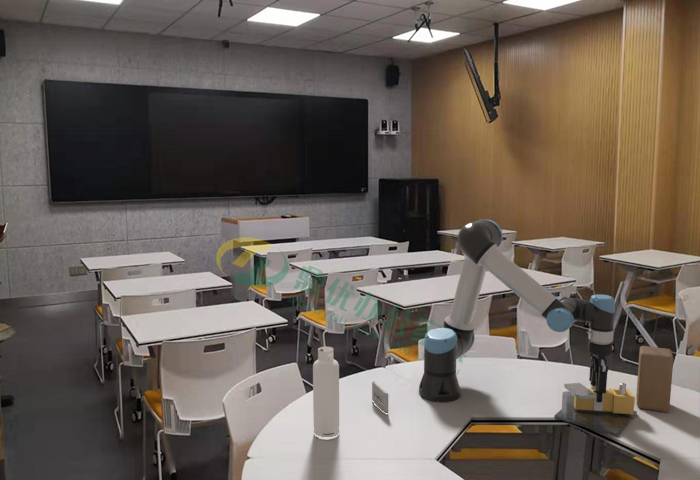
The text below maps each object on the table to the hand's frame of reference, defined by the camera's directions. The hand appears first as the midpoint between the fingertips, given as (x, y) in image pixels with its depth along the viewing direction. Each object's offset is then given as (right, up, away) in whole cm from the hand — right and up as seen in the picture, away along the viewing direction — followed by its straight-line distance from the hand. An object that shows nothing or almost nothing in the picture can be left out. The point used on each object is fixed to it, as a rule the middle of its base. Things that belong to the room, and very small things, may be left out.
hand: (595, 407), depth 199 cm
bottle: (-91, -5, -14) cm, 92 cm away
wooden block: (+22, -1, +6) cm, 23 cm away
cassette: (-73, -2, +5) cm, 74 cm away
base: (-1, -2, -2) cm, 3 cm away
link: (+2, 0, 0) cm, 2 cm away
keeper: (-9, -3, -4) cm, 10 cm away
